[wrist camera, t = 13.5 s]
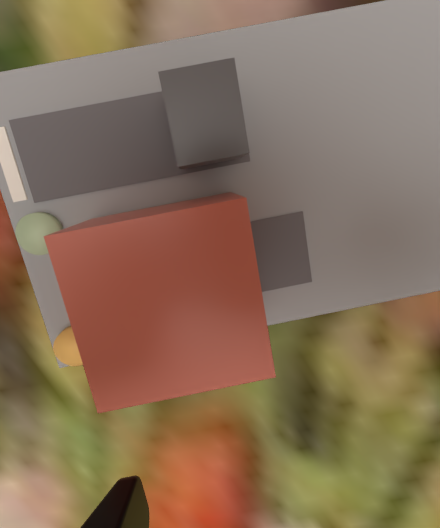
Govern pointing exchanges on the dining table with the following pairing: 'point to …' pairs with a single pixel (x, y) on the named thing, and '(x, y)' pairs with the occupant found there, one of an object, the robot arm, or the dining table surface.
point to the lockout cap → (164, 300)
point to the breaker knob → (205, 113)
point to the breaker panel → (257, 161)
